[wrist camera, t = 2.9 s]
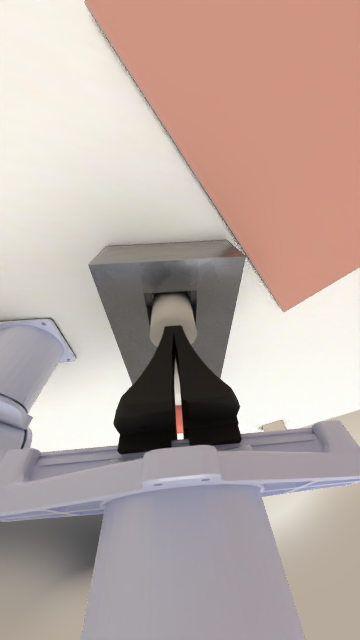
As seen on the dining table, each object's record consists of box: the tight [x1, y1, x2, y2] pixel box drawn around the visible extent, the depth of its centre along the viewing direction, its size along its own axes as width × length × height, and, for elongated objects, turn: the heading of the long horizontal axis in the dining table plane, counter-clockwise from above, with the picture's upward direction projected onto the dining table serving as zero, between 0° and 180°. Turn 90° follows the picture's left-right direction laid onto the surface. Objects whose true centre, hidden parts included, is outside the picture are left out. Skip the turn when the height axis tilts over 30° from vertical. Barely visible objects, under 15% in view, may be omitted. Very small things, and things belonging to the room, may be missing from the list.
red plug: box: [175, 405, 183, 433], centre depth 26 cm, size 4×4×5 cm
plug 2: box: [174, 359, 181, 405], centre depth 21 cm, size 4×4×5 cm
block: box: [89, 240, 246, 384], centre depth 24 cm, size 12×28×5 cm, turn 2°
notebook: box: [85, 0, 360, 312], centre depth 13 cm, size 27×17×2 cm, turn 42°
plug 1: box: [150, 291, 197, 347], centre depth 16 cm, size 4×4×5 cm
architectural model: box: [262, 420, 287, 432], centre depth 47 cm, size 3×7×7 cm, turn 123°
